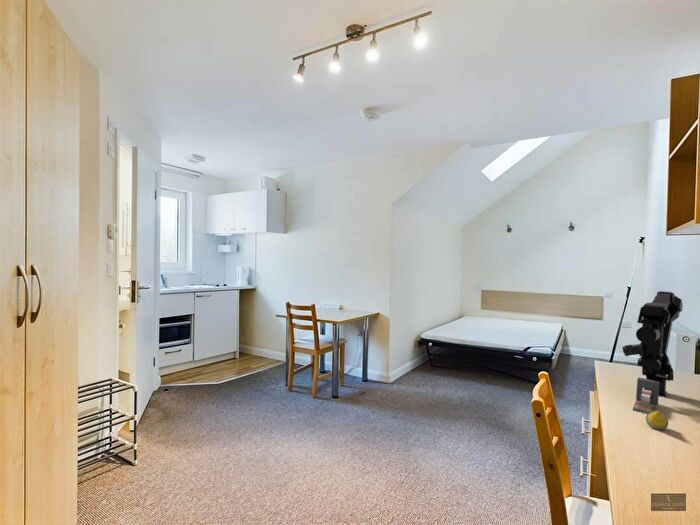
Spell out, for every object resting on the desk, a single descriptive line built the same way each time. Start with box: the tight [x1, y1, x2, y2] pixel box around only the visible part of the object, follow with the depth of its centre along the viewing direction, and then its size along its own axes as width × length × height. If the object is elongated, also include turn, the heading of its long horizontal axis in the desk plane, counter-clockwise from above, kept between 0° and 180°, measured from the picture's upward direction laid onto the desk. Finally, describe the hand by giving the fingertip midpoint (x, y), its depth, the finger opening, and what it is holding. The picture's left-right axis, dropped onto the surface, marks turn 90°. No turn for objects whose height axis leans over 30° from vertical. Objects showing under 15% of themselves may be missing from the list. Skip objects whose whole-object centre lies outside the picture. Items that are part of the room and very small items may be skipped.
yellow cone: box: [645, 410, 669, 431], centre depth 117 cm, size 5×5×10 cm
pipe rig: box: [632, 388, 659, 415], centre depth 134 cm, size 14×6×5 cm, turn 138°
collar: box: [635, 377, 660, 405], centre depth 136 cm, size 3×6×7 cm, turn 48°
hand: (649, 382), depth 140 cm, fingers closed
